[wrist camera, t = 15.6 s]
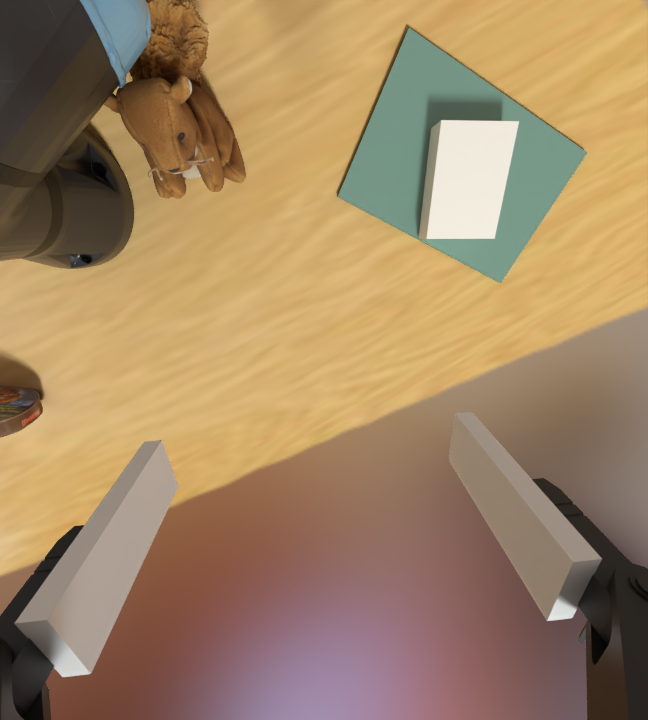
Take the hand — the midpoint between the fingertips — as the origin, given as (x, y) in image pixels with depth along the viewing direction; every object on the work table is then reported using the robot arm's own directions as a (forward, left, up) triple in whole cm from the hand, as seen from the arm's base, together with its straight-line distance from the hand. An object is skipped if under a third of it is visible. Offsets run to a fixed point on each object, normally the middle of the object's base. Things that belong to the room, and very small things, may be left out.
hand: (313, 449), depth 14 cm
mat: (+10, +21, -29) cm, 37 cm away
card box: (+13, +15, -27) cm, 33 cm away
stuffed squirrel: (-19, +12, -29) cm, 37 cm away
